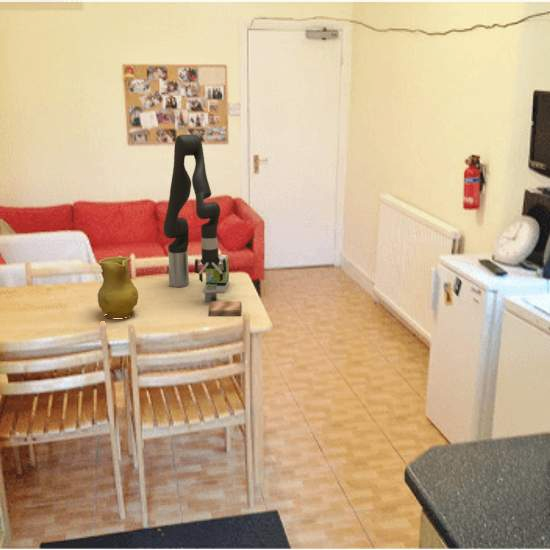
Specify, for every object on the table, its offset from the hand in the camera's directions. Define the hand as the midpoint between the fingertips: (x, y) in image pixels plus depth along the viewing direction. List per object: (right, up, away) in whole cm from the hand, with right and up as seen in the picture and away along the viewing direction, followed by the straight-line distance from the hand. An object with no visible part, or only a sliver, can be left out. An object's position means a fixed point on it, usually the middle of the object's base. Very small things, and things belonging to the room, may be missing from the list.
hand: (211, 281), depth 307 cm
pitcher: (-39, -14, -11) cm, 43 cm away
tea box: (+1, -3, +21) cm, 22 cm away
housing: (0, -9, +3) cm, 10 cm away
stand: (+7, -13, -8) cm, 17 cm away
